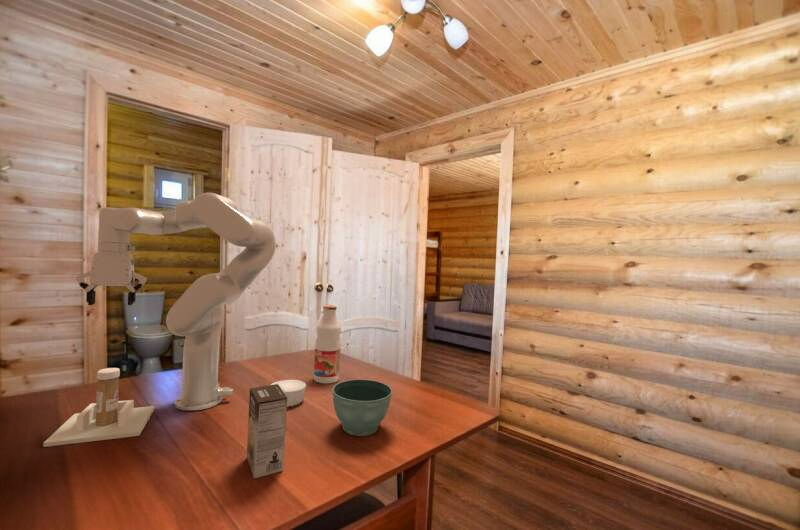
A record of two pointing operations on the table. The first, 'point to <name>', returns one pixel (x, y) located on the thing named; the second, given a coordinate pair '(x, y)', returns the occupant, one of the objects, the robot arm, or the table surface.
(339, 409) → the flower pot
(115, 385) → the sprinkles bottle
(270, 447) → the coffee box
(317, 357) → the fruit juice
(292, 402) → the ramekin
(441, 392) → the table surface
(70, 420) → the u rest
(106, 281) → the robot arm
